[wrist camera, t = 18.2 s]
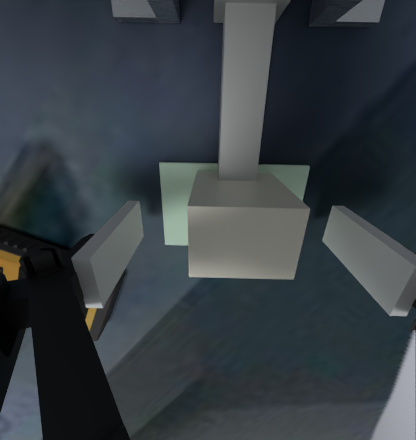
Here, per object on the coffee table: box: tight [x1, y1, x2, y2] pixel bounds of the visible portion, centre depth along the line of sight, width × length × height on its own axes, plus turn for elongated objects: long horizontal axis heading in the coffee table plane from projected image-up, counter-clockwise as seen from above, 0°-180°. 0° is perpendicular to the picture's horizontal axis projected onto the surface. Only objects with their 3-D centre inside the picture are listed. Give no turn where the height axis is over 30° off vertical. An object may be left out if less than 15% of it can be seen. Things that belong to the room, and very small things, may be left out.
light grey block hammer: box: [187, 0, 310, 279], centre depth 11 cm, size 14×6×7 cm, turn 179°
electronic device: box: [0, 227, 125, 341], centre depth 20 cm, size 8×16×3 cm, turn 66°
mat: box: [159, 162, 310, 245], centre depth 17 cm, size 7×11×1 cm, turn 89°
